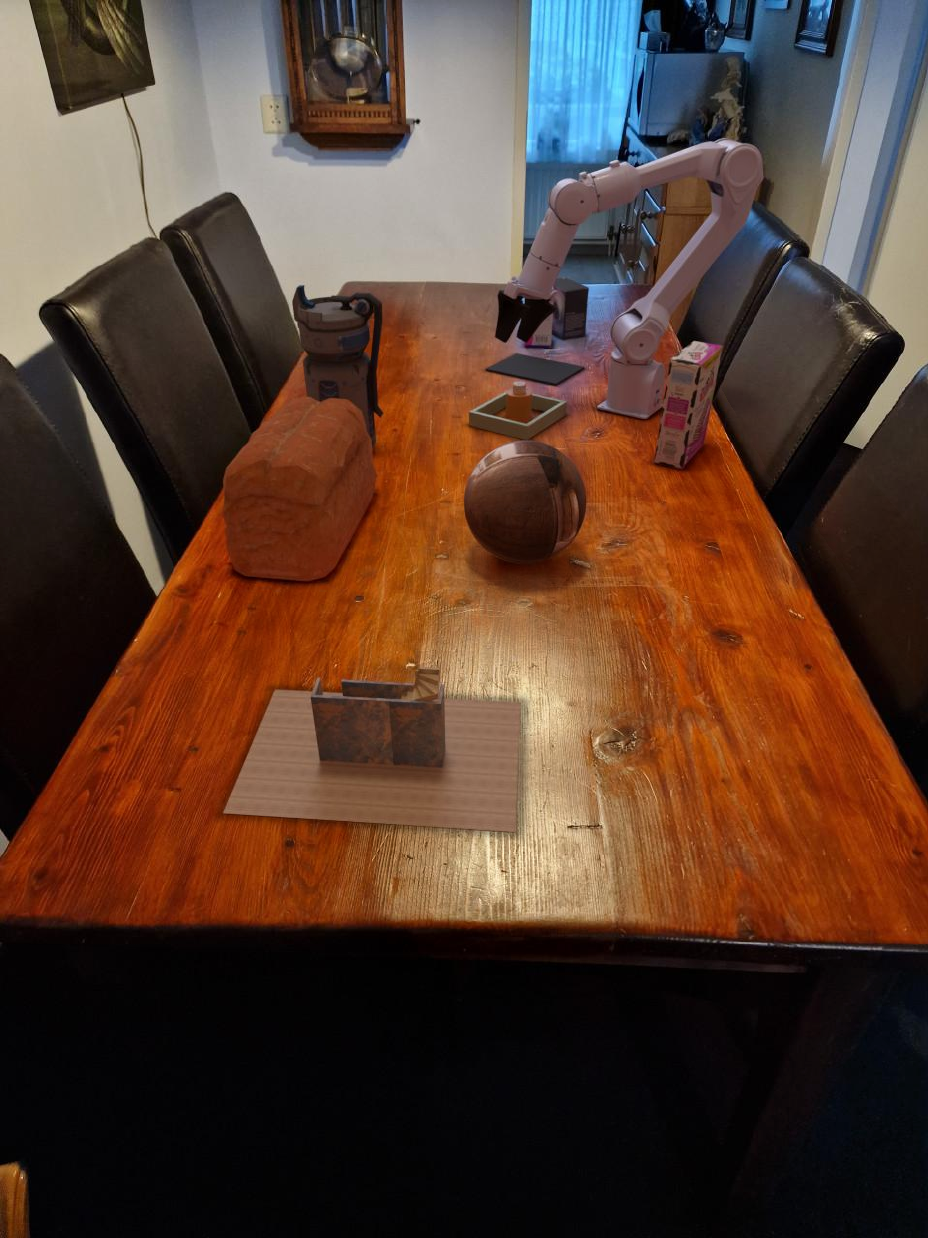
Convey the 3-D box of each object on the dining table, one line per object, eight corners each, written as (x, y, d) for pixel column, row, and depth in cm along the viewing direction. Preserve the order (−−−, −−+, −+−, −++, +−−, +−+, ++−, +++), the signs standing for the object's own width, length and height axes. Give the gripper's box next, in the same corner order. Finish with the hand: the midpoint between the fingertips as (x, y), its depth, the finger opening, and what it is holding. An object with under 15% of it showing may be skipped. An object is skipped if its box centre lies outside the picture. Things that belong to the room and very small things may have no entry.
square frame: (566, 414, 144) (567, 401, 142) (527, 440, 135) (527, 426, 133) (510, 401, 149) (510, 388, 148) (468, 425, 140) (468, 411, 138)
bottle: (535, 418, 142) (537, 382, 139) (522, 427, 139) (524, 389, 136) (513, 413, 144) (515, 377, 141) (500, 421, 141) (501, 384, 138)
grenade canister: (382, 466, 127) (370, 298, 112) (300, 460, 129) (279, 294, 114) (397, 440, 135) (389, 280, 120) (320, 435, 137) (303, 277, 122)
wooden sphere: (447, 538, 108) (446, 431, 99) (550, 519, 112) (556, 414, 104) (490, 597, 97) (492, 481, 88) (602, 573, 101) (615, 461, 92)
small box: (537, 327, 188) (540, 279, 182) (562, 324, 190) (565, 276, 184) (561, 339, 180) (564, 289, 174) (586, 336, 182) (590, 286, 176)
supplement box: (551, 340, 180) (554, 285, 173) (550, 348, 175) (554, 292, 168) (524, 339, 180) (527, 285, 174) (523, 347, 175) (526, 292, 169)
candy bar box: (683, 471, 125) (701, 364, 115) (652, 464, 127) (667, 358, 118) (706, 445, 133) (724, 343, 123) (676, 439, 135) (692, 338, 125)
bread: (222, 576, 101) (198, 463, 92) (292, 482, 122) (278, 383, 113) (331, 585, 99) (318, 471, 90) (383, 488, 120) (376, 388, 112)
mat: (584, 368, 164) (584, 366, 164) (555, 385, 156) (555, 383, 156) (516, 354, 172) (516, 352, 171) (485, 370, 163) (485, 368, 163)
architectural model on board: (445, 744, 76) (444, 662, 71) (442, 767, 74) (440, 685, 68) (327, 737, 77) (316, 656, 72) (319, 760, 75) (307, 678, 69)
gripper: (545, 252, 138) (513, 329, 145) (504, 244, 126) (471, 328, 133) (579, 270, 136) (544, 347, 143) (540, 264, 124) (504, 348, 131)
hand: (511, 339), depth 138 cm, fingers open, 7 cm apart
